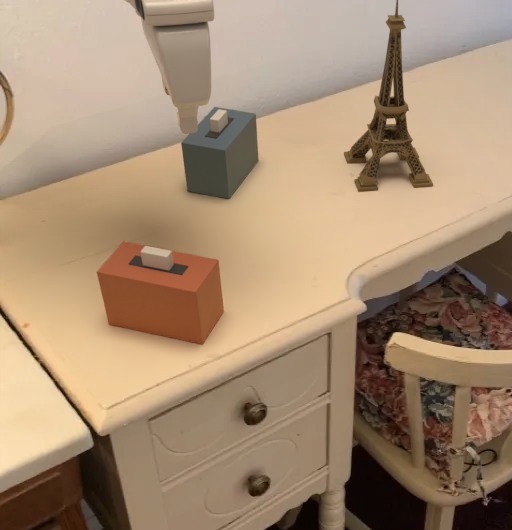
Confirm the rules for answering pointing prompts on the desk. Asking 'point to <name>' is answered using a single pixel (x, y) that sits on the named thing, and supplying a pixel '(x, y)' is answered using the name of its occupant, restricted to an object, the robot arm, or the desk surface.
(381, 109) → the eiffel tower
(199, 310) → the terracotta tissue box
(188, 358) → the desk surface
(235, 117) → the slate tissue box
